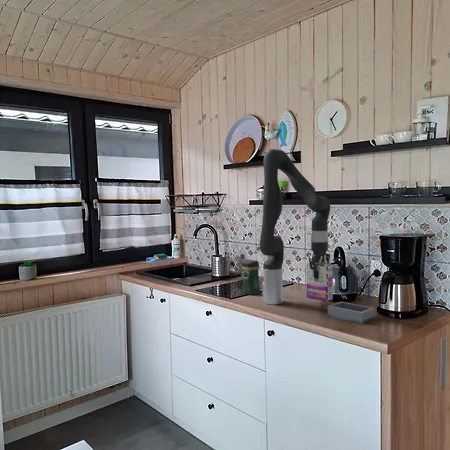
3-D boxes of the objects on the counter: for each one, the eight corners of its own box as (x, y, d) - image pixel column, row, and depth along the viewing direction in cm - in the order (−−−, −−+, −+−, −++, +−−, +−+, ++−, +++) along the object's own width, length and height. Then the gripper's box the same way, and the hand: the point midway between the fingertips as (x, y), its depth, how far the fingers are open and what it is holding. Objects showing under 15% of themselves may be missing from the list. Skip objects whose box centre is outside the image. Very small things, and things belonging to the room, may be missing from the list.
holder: (327, 316, 182) (327, 306, 182) (340, 311, 189) (340, 301, 189) (362, 323, 170) (362, 313, 170) (374, 318, 177) (374, 307, 177)
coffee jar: (262, 293, 228) (261, 259, 226) (251, 296, 223) (250, 261, 222) (250, 290, 235) (249, 258, 234) (239, 293, 230) (239, 259, 229)
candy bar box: (333, 299, 189) (333, 264, 187) (327, 302, 185) (327, 265, 184) (312, 295, 196) (312, 261, 195) (306, 297, 193) (306, 262, 192)
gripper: (321, 238, 196) (321, 274, 198) (303, 241, 186) (303, 278, 188) (335, 239, 191) (335, 276, 192) (317, 242, 181) (317, 281, 182)
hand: (319, 277), depth 190 cm, fingers closed on candy bar box, 5 cm apart
